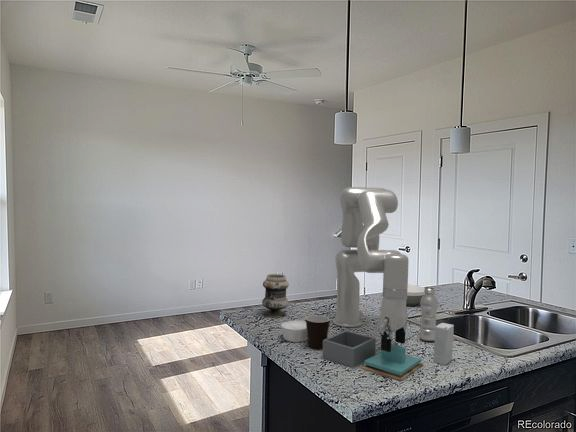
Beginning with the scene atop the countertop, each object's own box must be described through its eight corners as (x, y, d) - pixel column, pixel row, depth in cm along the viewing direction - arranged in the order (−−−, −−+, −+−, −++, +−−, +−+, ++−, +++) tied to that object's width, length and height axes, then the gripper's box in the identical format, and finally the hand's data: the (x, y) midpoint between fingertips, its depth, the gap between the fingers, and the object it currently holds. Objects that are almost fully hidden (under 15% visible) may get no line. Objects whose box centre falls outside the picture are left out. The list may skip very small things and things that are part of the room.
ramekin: (276, 340, 154) (276, 326, 154) (287, 332, 165) (287, 319, 164) (304, 345, 150) (305, 330, 150) (314, 336, 160) (314, 322, 160)
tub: (345, 346, 149) (345, 330, 148) (375, 355, 141) (375, 338, 141) (322, 357, 138) (322, 340, 138) (353, 367, 130) (353, 349, 130)
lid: (386, 354, 141) (386, 335, 141) (421, 364, 133) (421, 344, 132) (363, 366, 130) (364, 346, 130) (400, 378, 122) (401, 357, 122)
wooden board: (386, 355, 142) (386, 353, 142) (423, 365, 133) (423, 363, 133) (362, 369, 129) (362, 367, 129) (400, 381, 121) (401, 379, 121)
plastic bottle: (436, 338, 160) (438, 287, 159) (437, 344, 153) (438, 290, 153) (419, 336, 162) (420, 285, 161) (418, 342, 155) (420, 289, 155)
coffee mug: (322, 352, 143) (322, 323, 143) (300, 347, 147) (301, 319, 147) (336, 342, 153) (337, 316, 152) (316, 338, 157) (316, 312, 157)
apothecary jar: (279, 320, 180) (280, 279, 180) (256, 315, 186) (257, 276, 186) (293, 313, 191) (293, 274, 190) (271, 309, 197) (271, 272, 196)
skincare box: (439, 357, 141) (440, 321, 140) (453, 360, 138) (454, 324, 137) (432, 362, 136) (434, 325, 136) (446, 366, 133) (447, 328, 133)
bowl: (432, 308, 204) (432, 292, 204) (393, 308, 204) (394, 291, 204) (420, 299, 223) (420, 284, 222) (385, 298, 223) (385, 283, 223)
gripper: (396, 287, 139) (394, 337, 140) (370, 295, 126) (368, 350, 127) (417, 290, 135) (415, 342, 135) (393, 300, 121) (391, 357, 122)
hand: (393, 346), depth 131 cm, fingers open, 9 cm apart
